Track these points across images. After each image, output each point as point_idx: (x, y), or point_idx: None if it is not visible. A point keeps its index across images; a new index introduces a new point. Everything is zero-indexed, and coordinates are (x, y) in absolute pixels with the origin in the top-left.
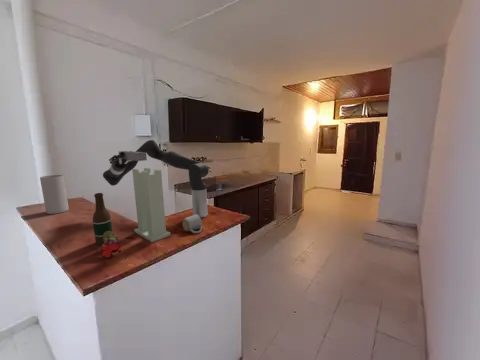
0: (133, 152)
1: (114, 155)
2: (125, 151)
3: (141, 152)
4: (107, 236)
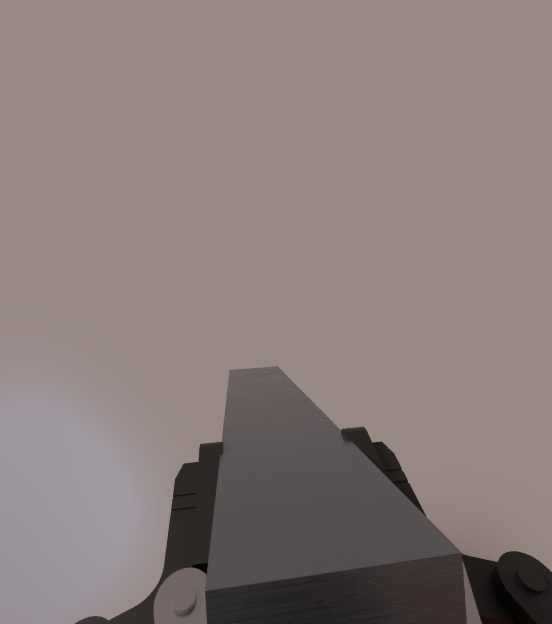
0: (286, 375)
1: (538, 565)
2: (294, 454)
3: (255, 368)
4: None
